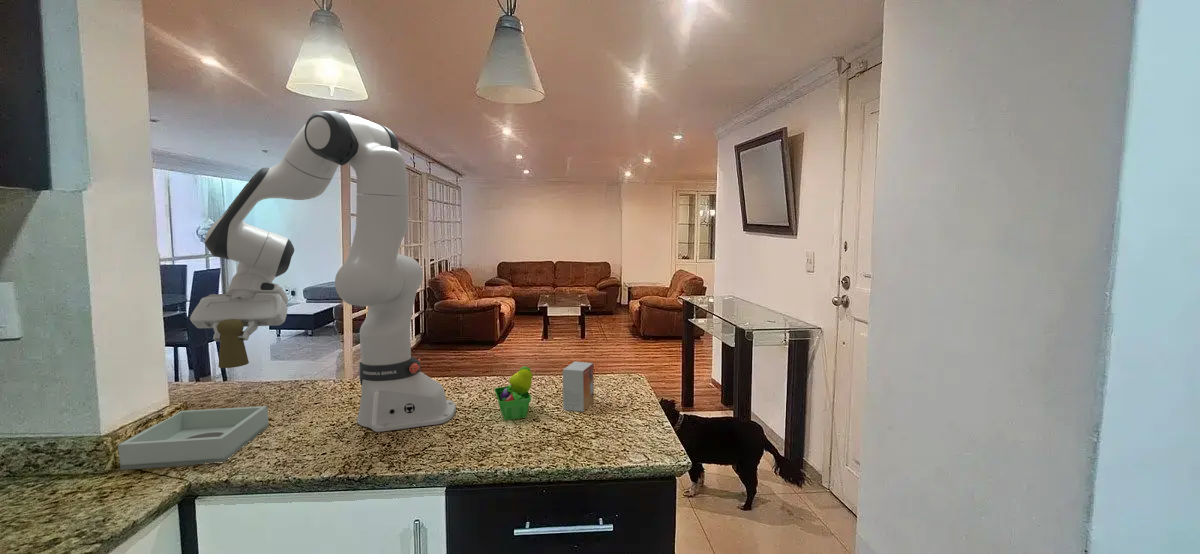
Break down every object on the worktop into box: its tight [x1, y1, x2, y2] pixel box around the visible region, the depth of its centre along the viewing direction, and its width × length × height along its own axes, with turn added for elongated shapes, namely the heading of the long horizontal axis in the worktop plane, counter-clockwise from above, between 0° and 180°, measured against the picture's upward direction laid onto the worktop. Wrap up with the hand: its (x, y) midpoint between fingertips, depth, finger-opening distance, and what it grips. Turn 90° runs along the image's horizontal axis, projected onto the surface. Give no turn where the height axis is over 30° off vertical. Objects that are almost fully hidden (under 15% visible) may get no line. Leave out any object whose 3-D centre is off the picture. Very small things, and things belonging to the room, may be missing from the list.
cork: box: [217, 319, 250, 369], centre depth 123 cm, size 6×6×11 cm
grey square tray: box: [117, 405, 270, 471], centre depth 108 cm, size 18×18×5 cm
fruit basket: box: [494, 366, 533, 421], centre depth 126 cm, size 11×9×11 cm
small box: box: [562, 361, 595, 413], centre depth 130 cm, size 8×6×10 cm
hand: (230, 339), depth 123 cm, fingers closed on cork, 4 cm apart
